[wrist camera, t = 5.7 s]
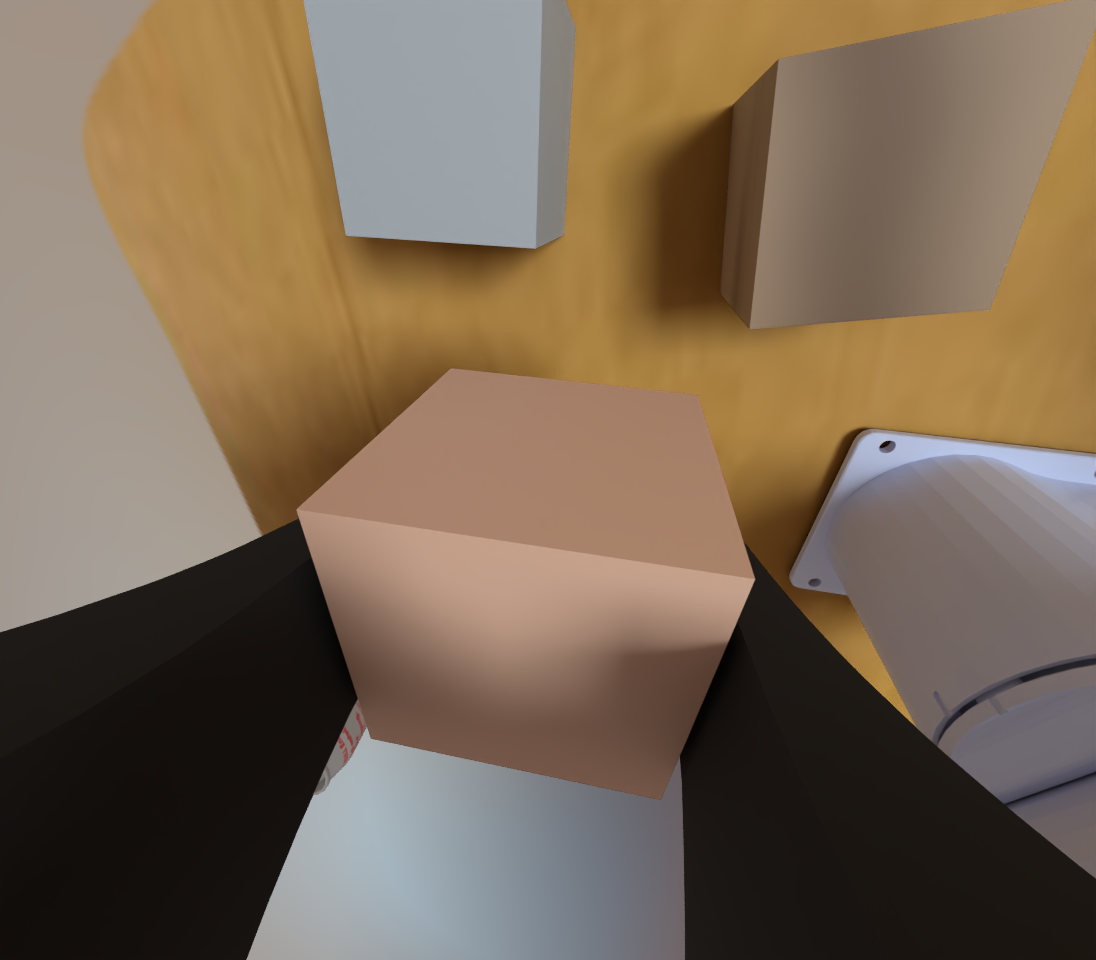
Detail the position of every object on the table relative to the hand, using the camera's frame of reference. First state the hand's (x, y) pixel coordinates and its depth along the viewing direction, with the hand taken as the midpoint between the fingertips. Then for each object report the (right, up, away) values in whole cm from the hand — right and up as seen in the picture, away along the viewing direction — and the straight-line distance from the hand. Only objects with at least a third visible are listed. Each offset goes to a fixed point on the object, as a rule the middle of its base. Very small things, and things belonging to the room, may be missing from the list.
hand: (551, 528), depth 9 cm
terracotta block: (0, +1, +1) cm, 2 cm away
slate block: (-2, +12, +5) cm, 13 cm away
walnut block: (+8, +10, +4) cm, 13 cm away
